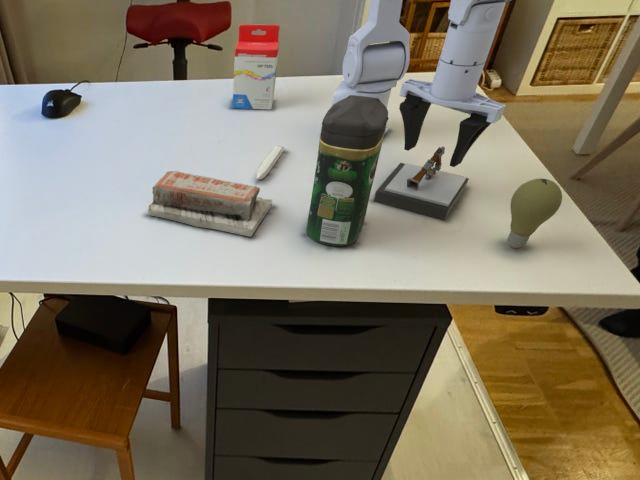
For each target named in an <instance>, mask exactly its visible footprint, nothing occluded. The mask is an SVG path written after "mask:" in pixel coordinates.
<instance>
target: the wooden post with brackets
mask: <svg viewBox="0 0 640 480" xmlns="http://www.w3.org/2000/svg"><path fill="white" fill-rule="evenodd" d="M445 150H446V147H445V146H441V147H440V146H439V147H438V148H437V149H436V150H435V151H434V152H433V155H432V156H431V157H430V159H427V161H425V163H424V164H423V166H422V169H421V170H420V172H418V173H417V174H416V175H415V176H414V177H413V178H412V179H411V178H408V179H407V187H408V188H410V189H413V190H416V191H417V190H418V189H419V183H420V181H421V180H422V178H423V177H424V175H425V174H426V177H425V179H431V178H432V176H433V175H435V174H436V170H437V171H441V167H442V165H443V162H442V156H443V155H444V154H445Z"/></svg>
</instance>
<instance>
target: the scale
mask: <svg viewBox="0 0 640 480" xmlns="http://www.w3.org/2000/svg"><path fill="white" fill-rule="evenodd" d="M422 167H423V166H422V165H417V164H412V163H409V162H406V163H404V162H400V163H399V164H398V165H397V166H396V167H395V168H394V170H393V171H392V172H391V173H390V174H389V176H388V177H387V178H386V179H385V180H384V181H383V183H382V184H380V186H379V187H378V189H377V190H375V194H374V198H373V202H376V203H380V204H383V205H387V206H390V207H395V208H397V209H402V210H406V211H409V212H414V213H416V214H421V215H424V216H428V217H432V218H436V219H440V220H444V221H445V220H446V219H447V217H448V216H449V214H450V213H451V211H452V210H453V208H454V207H455V205H456V203H458V201H459V199H460V198H461V196H462V194H463V193H464V191H465V190H466V187H467V185H468V183H469V179H470V178H469V177H468V176H465V175H461V174H457V173H452V172H448V171H443V170H439V171H437V170H436V174H435V175H433V176H432V178H431V179H425V177H426V174H425V175H424V177H423V178H422V180H421V181H420V183H419V189H418V190H417V191H416V190H413V189H410V188H408V187H407V179H408V178H411V179H412V178H413V177H414V176H415V175H416V174H417V173H418V172H420V170H421V169H422Z"/></svg>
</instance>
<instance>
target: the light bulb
mask: <svg viewBox="0 0 640 480" xmlns="http://www.w3.org/2000/svg"><path fill="white" fill-rule="evenodd" d="M562 202H563V193H562V190H561V188H560V186H559V185H558V184H557V183H556V182H554V181H553V180H551V179H548V178H543V177H542V178H534V179H531V180H528V181H526V182H524V183H522V184H521V185H520V186H519V187H518V188H517V189H516V190H515V191H514V193H513V194H512V196H511V199H510V205H509V206H510V207H509V208H510V215H511V216H510V217H511V219H510V220H511V221H510V232H509V234H508V236H507V238H506V242H507V244H508V245H509V247H511V248H512V249H519V248H524V247H525V246H526V245H527V243H528V241H529V239H530V237H531V236H532V235H533V234H534V233H535V232H536V231H537V229H538V228H540V226H542V225H543V224H544V223H545V222H547V221H548V220H550V219H551V218H552V217H553V216H554V215H556V213H557V212H558V211H559V209H560V207H561V205H562Z"/></svg>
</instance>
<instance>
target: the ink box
mask: <svg viewBox="0 0 640 480" xmlns="http://www.w3.org/2000/svg"><path fill="white" fill-rule="evenodd" d="M258 30H259V31H261V32H265V34H255V33H254V34H253V33H252V32H257V31H258ZM279 35H280V25H279V24H260V23H259V24H257V23H256V24H252V23H251V24H239V25H238V41H237V42H236V45H235V49H234V66H233V84H232V85H233V87H232V109H245V110H268V111H269V110H271V111H272V109H273V104H274V98H275V91H276V90H275V88H276V79H277V69H278V59H279V58H278V57H279V48H280V41H279Z"/></svg>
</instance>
